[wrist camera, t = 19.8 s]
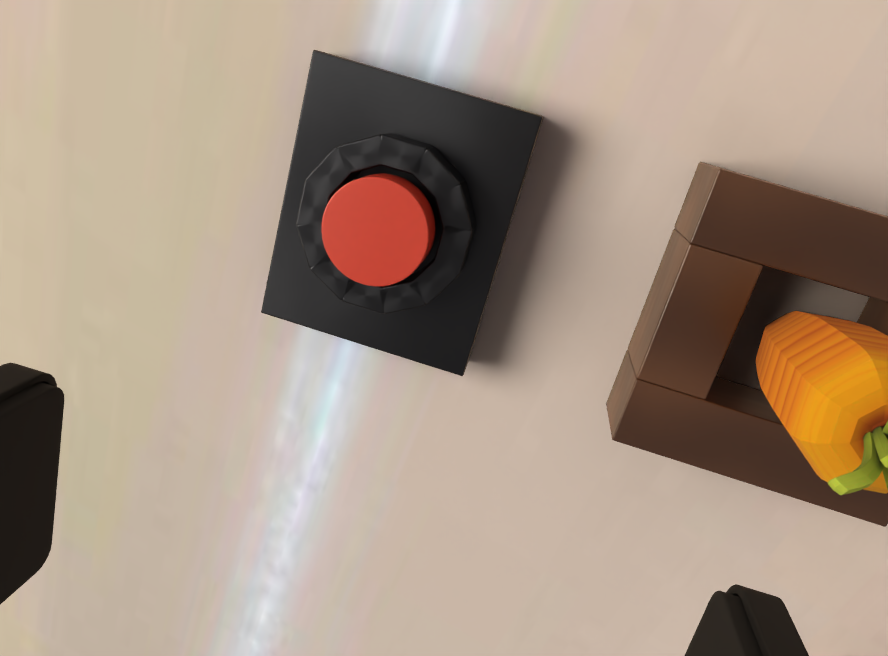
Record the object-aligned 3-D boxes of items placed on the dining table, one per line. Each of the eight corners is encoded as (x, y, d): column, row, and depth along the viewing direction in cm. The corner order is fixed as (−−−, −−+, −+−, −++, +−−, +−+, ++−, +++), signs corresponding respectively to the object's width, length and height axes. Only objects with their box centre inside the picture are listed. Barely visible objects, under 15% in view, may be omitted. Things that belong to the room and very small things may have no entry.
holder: (699, 161, 31) (719, 168, 27) (976, 242, 30) (1036, 261, 26) (605, 404, 34) (611, 440, 31) (849, 481, 34) (886, 527, 30)
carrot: (787, 399, 33) (961, 615, 19) (698, 343, 33) (804, 518, 19) (861, 313, 31) (1111, 479, 17) (767, 254, 31) (941, 371, 17)
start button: (346, 160, 29) (334, 163, 28) (447, 190, 29) (441, 195, 27) (324, 260, 31) (311, 268, 29) (420, 290, 30) (413, 300, 29)
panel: (328, 53, 32) (298, 45, 28) (543, 116, 31) (542, 116, 27) (278, 301, 35) (244, 323, 32) (468, 361, 35) (457, 391, 31)
